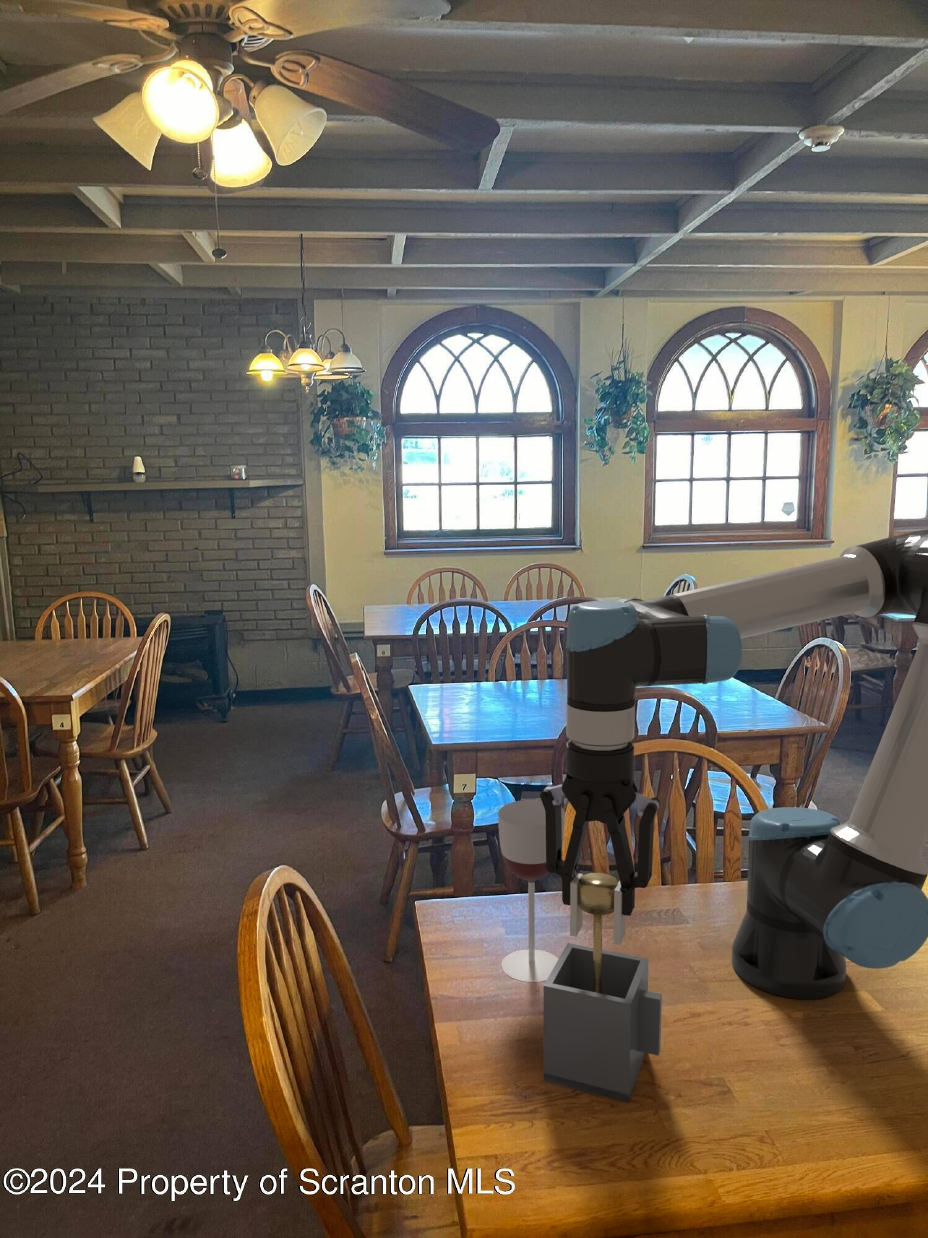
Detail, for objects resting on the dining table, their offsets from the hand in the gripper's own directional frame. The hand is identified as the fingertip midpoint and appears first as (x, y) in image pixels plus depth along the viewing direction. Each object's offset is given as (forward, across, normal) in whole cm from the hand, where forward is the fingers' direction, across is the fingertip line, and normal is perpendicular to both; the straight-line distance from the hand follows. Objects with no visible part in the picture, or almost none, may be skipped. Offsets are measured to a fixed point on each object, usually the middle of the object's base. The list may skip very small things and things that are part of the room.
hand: (597, 934), depth 103 cm
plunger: (+12, 0, 0) cm, 12 cm away
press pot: (+17, -1, 0) cm, 17 cm away
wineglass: (+17, +14, -18) cm, 28 cm away
